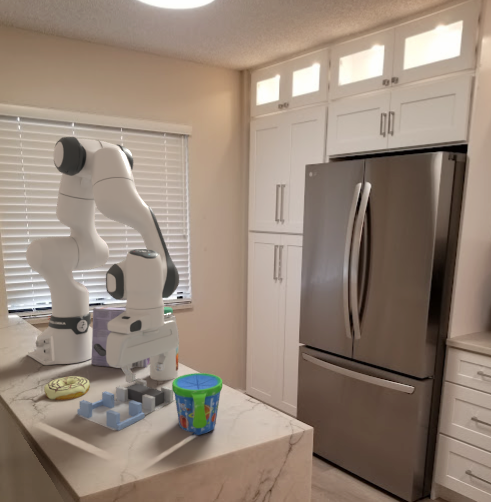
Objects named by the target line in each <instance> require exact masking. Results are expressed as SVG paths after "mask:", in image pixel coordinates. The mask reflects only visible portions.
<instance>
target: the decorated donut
mask: <svg viewBox="0 0 491 502" xmlns="http://www.w3.org/2000/svg"><path fill="white" fill-rule="evenodd" d="M89 390H90V380H89V379H87V378H86V377H83V376H79V375H78V376H77V375H71V376H70V375H68V376H65V377H58V378H56V379H53V380H51V381H49V382H48V383H46V384H45V385H44V387H43V391H44V395H45V396H46V398H47V399H49V400H52V401H53V400H58V401H60V400H61V401H62V400H72V399H76V398H80V397H83V396H84V395H86V394H87V393H88V392H89Z"/></svg>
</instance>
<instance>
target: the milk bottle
mask: <svg viewBox="0 0 491 502" xmlns="http://www.w3.org/2000/svg"><path fill="white" fill-rule="evenodd" d="M173 311H174V309H173V308H172V307H170V306H164V314H167V313H172V314H174V312H173ZM159 356H160V355H156V356H153V357H150V365H149V368H150V369H149V374H150V375H149V377H150V379H152V380H154V381H159V382H160V381H162V382H163V381H170V380H175V379H176V378H178V377H179V346H178V347H177V348H176V349H173V350H170V351H168V357H167V359H166V362H165V369H164V370H162V371H156V369H155V368H156V366H155V363H158V359H159Z"/></svg>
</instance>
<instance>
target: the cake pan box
mask: <svg viewBox="0 0 491 502" xmlns="http://www.w3.org/2000/svg"><path fill="white" fill-rule="evenodd" d="M124 311H126V307H114V306H113V307H111V306H96V307H93V309H92V329H93V331H92V358H91V366H98V367H107V368H108V367H110V368H115V369H117V368H116V367H112V366H110V365H109V364H108V363H107V360H106V344H107V338H108V335H109V334H110V333H111V332H112V331H109V330H108V327H107V325H108V322H109V321H111V320H112V319H114V318H116V317H117V316H119V315H120V314H121V313H123V312H124ZM148 366H149V367H150V358H147V359H144V360H141V361H138V362H135V363H132V368H130V370H132V369H134V368H147V367H148Z"/></svg>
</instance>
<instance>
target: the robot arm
mask: <svg viewBox="0 0 491 502" xmlns="http://www.w3.org/2000/svg"><path fill="white" fill-rule="evenodd" d="M52 156H53V163H54V166H55V168H56V169H57V171H58V172H60V173H61V178H60V182H59V186H58V187H59V189H58V195H57V203H56V211H55V215H56V217H57V219H58V221H59V222H60V223H62V224H63V225H64V226H66V227H68V228H69V229H70V236H46V237H42V238H38V239H34V240H32V241H31V242H30V243H29V245H28V247H27V249H26V252H25V257H26V258H25V259H26V262H27V264H28V266H29V267H30V268H31V269H32V270H33V271H35V272H36V273H38V274H39V275H40V277H42V278H43V279H44V281H45V283H46V284H47V286H48V288H49V291H50V300H51V302H50V303H51V315H48V316H47V317H48V318H47V320H48V324H47V326H48V327H46V328H45V329H44V330H43V331H42V332H41V333H40V334H38V335H37V337H36V339H35V340H36V341H35V349H32V350H29V352H28V353H27V356H28V357H30V358H32V359H33V360H35V361H37V362H38V363H40V364H41V365H44V366H51V365H52V366H53V365H66V364H67V365H69V364H77V363H81V362H85V361H89V360H92V331H93V326H90V325H91V323H92V316H91V312H90V291H89V290H88V288H87V287H86V286H85V285H84V284H83V283H81V282H79V281H76V280H75V278H74V275H73V272H75V271H88V270H94V269H98V268H100V267H103V266H105V265H106V264H107V262H108V261H109V257H110V248H109V246H108V244H107V242H106V241H105V240H104V239H103V238H102V237H101V236H100V235H99V233H98V230H97V227H96V219H95V217H96V209H97V211H99V212H100V213H101V214H102V215H103V216H104V217H106V218H108V219H110V220H112V221H113V222H117V223H121V224H122V225H126V226H127V227H130V228H131V229H134V230H136V232H137V233H139V234H140V237H142V240H143V242H144V246H145V249H144V248H136V249H132V250H130V251H128V252H127V254H126V257H125V258H124V260H122V261H119V262H118V263H114V264H112V265H111V266H110V268H109V269H108V270H107V271H106V274H105V287H106V288H105V289H106V292H107V294H108V295H109V296H111V297H112V298H113V299H114V300H116V301H126V303H125V308H126V311H124V312H123V313H121V314H120V315H119V316H117V317H116V318H114V319H112V320H111V321H109V322H108V325H107V327H108V330H109V331H112V332H111V333H110V334H109V335H108V338H107V344H106V360H107V363H108V364H109V365H110V366H112V367H111V368H114V367H116V368H115V369H121V370H122V372H123V373H124V376H125V382H126V383H127V384H128V383H129V384H130V383H135V380H136V379H137V378H136V376H137V375H136V373H133V372H132V369H133V368H132V363H135V362H138V361H141V360H144V359H147V358H150V357H153V356H156V355H160V356H159V359H158V363H155V366H156V368H155V369H156V371H162V370H164V369H165V362H166V359H167V357H168V351H170V350H173V349H176V348H177V347H178V348H179V344H180V338H179V328H178V324H177V318H176V315H175V314H174V313H173V314H172V313H167V314H164V307H165V303H164V299H168V298H169V297H171V296H172V295H173V294H174V293H175V291H176V290H177V289H178V287H179V284H180V273H179V271H178V269H177V266H176V264H175V262H174V261H173V259H172V258H171V255H170V253H169V249H168V247H167V245H166V241H165V239H164V236H163V233H162V231H161V228H160V225H159V222H158V220H157V217H156V215H155V213H154V211H153V209H152V207H151V206H149V205H148V204H146V202H145V201H144V200H143V198H142V197H141V195H140V194H139V192H138V190H137V187H136V182H135V177H134V174H133V168H134V157H133V155H132V152H131V150H130V149H128V148H127V147H125V146H123V145H121V144H114V143H112V142H108V141H103V140H99V139H89V138H78V137H77V138H76V137H75V136H64V137H61V138H60V139H58V140H57V141H56V144H55V146H54V149H53V155H52ZM130 368H132V369H130Z"/></svg>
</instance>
